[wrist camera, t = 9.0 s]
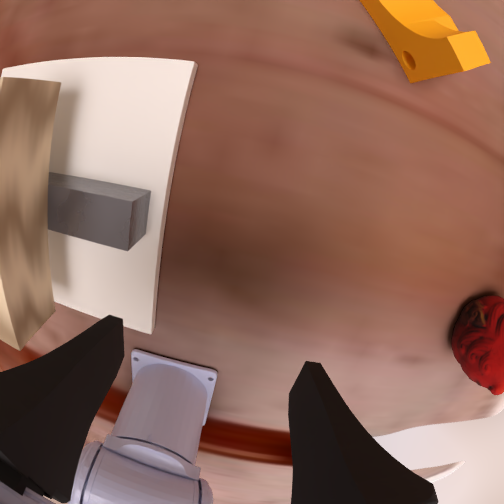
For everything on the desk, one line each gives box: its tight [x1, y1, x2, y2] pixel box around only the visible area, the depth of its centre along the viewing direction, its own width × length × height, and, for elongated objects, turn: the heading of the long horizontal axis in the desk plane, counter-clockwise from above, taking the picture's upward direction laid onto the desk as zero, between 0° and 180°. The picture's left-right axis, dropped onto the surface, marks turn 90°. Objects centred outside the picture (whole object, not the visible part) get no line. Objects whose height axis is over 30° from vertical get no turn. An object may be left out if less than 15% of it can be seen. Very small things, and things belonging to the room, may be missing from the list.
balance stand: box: [1, 57, 198, 334], centre depth 17 cm, size 20×18×4 cm
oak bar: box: [0, 77, 61, 351], centre depth 13 cm, size 16×4×5 cm, turn 166°
